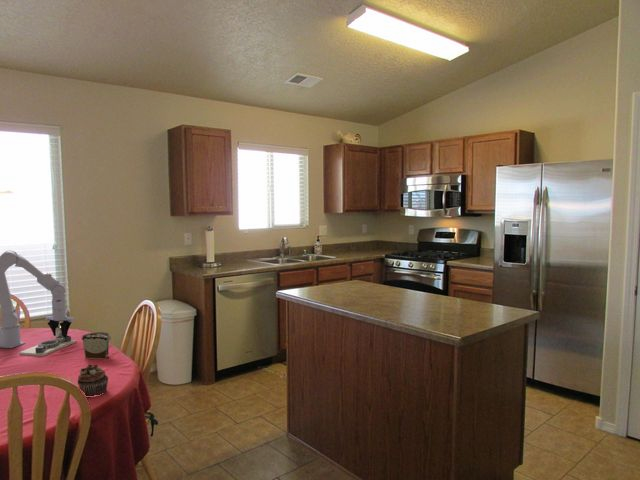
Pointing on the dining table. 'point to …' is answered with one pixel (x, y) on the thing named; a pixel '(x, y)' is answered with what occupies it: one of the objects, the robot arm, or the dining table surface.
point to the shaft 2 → (64, 339)
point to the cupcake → (92, 380)
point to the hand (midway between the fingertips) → (60, 335)
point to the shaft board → (33, 351)
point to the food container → (96, 345)
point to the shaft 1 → (41, 348)
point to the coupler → (58, 332)
